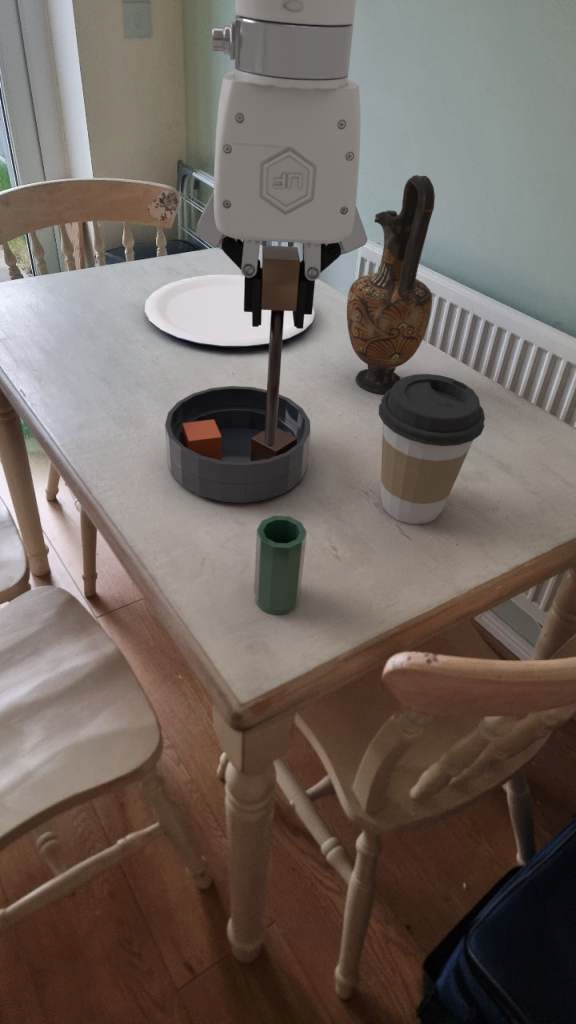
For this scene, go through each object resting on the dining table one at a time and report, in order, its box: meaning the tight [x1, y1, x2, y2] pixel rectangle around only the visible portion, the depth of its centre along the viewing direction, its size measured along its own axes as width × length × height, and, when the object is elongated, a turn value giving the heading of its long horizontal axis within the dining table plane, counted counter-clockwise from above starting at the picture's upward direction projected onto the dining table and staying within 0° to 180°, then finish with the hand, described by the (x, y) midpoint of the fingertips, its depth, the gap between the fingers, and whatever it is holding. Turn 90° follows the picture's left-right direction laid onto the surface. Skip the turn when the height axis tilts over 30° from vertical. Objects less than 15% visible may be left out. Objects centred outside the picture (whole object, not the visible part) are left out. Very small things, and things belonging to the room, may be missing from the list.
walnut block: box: [251, 428, 297, 461], centre depth 85 cm, size 4×4×4 cm
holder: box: [253, 515, 307, 616], centre depth 67 cm, size 4×5×9 cm
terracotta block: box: [182, 419, 222, 461], centre depth 85 cm, size 4×4×4 cm
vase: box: [346, 174, 436, 395], centre depth 95 cm, size 12×12×30 cm
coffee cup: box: [378, 373, 486, 526], centre depth 77 cm, size 11×11×15 cm
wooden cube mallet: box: [261, 244, 301, 447], centre depth 59 cm, size 3×3×18 cm
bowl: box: [164, 385, 311, 504], centre depth 85 cm, size 17×17×6 cm
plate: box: [144, 274, 316, 348], centre depth 119 cm, size 29×29×2 cm
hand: (277, 318), depth 57 cm, fingers closed on wooden cube mallet, 2 cm apart
